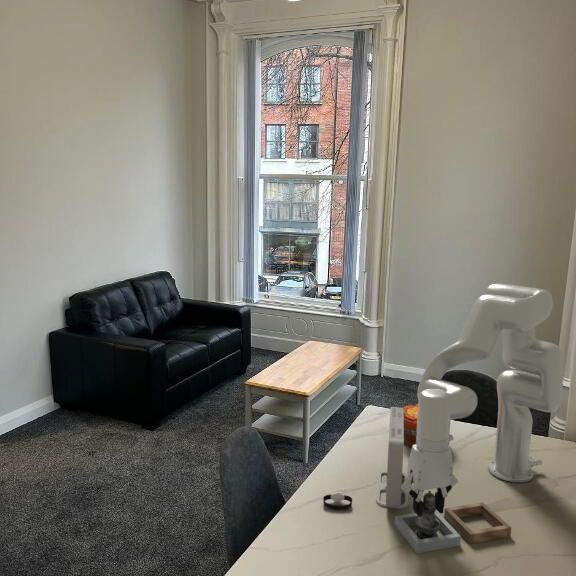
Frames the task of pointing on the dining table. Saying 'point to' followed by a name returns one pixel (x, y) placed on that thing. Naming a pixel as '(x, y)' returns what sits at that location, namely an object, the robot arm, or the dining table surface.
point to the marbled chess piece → (428, 518)
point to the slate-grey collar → (431, 543)
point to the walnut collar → (476, 536)
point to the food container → (410, 424)
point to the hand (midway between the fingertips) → (428, 511)
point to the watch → (337, 498)
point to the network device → (394, 464)
